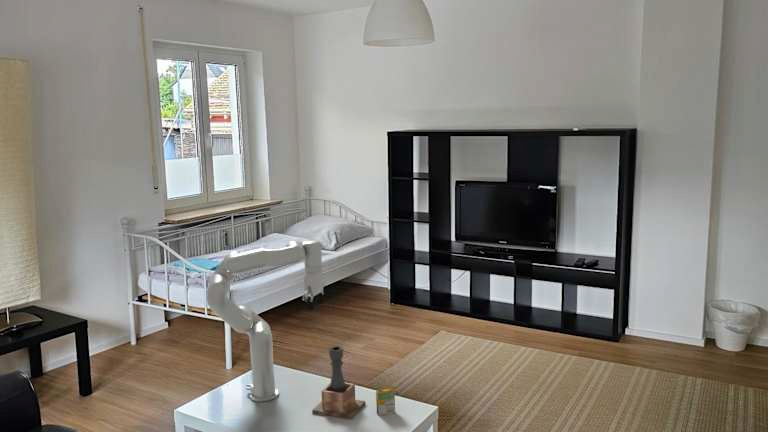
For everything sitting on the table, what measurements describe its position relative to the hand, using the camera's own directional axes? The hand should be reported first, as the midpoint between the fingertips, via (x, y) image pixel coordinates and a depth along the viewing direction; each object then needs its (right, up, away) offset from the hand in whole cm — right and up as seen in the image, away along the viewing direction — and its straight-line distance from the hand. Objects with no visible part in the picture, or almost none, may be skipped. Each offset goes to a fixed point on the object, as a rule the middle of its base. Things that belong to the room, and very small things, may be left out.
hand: (315, 306), depth 279 cm
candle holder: (+11, -40, -14) cm, 43 cm away
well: (+12, -41, -14) cm, 45 cm away
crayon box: (+31, -41, -19) cm, 55 cm away
